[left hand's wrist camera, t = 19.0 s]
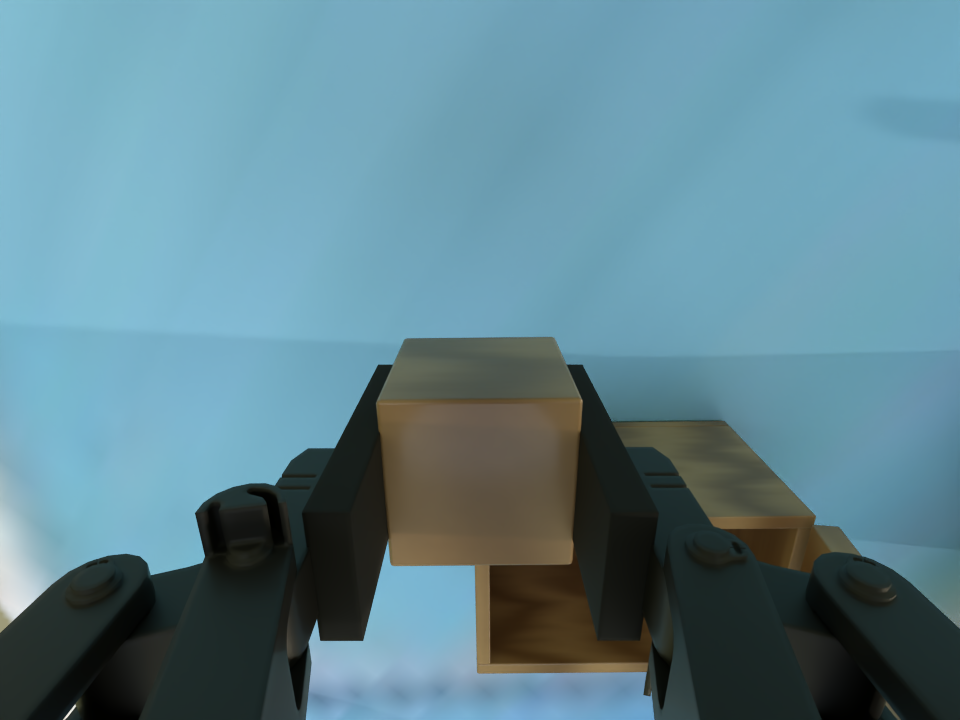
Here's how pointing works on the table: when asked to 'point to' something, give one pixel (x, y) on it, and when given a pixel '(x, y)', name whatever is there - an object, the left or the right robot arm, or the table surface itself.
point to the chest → (559, 588)
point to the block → (480, 452)
